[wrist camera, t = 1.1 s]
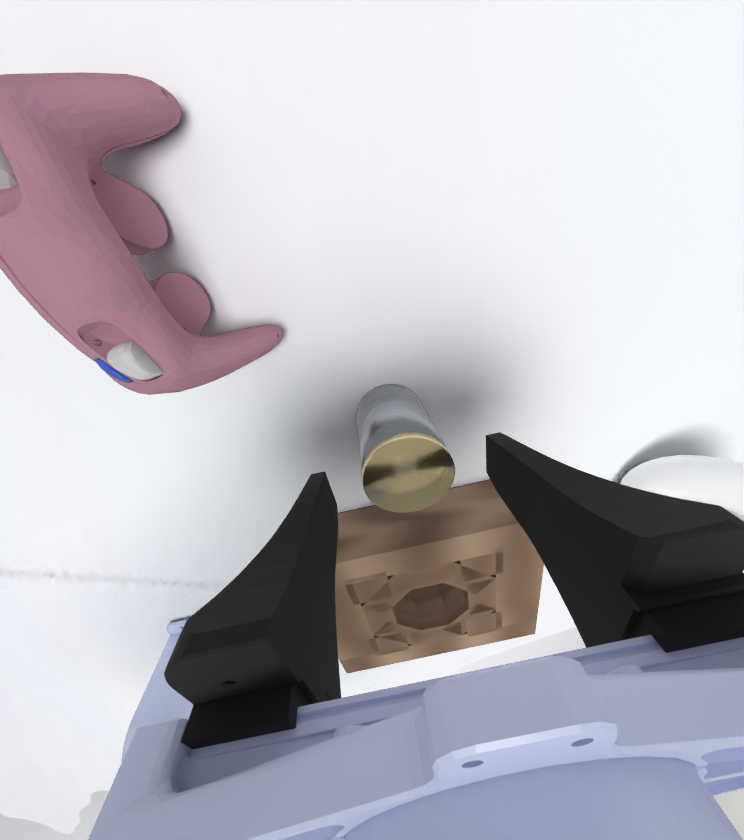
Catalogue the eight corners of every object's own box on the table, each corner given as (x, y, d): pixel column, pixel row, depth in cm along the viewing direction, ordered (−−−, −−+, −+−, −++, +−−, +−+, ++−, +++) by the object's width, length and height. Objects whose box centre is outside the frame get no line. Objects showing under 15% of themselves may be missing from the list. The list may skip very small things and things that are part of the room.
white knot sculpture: (578, 567, 28) (673, 690, 20) (549, 486, 22) (663, 611, 14) (706, 516, 26) (867, 630, 18) (707, 414, 20) (941, 511, 12)
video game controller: (113, 137, 12) (-185, 87, 7) (178, 72, 10) (-176, -69, 5) (236, 357, 17) (114, 427, 12) (297, 343, 15) (183, 420, 10)
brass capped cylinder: (364, 448, 19) (373, 520, 14) (349, 392, 17) (353, 451, 12) (425, 434, 19) (457, 501, 14) (417, 377, 17) (451, 429, 12)
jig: (346, 622, 28) (346, 673, 25) (299, 522, 21) (290, 573, 18) (510, 586, 28) (534, 633, 24) (515, 474, 21) (549, 516, 18)
